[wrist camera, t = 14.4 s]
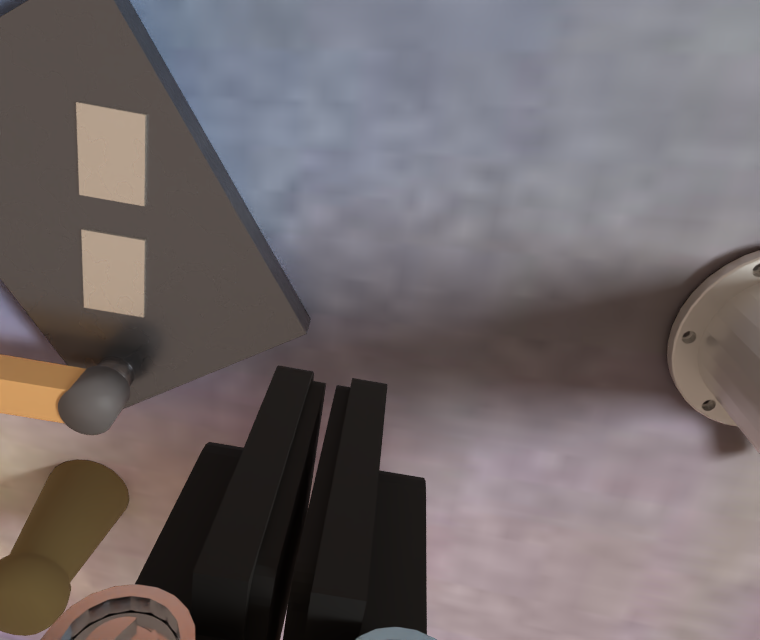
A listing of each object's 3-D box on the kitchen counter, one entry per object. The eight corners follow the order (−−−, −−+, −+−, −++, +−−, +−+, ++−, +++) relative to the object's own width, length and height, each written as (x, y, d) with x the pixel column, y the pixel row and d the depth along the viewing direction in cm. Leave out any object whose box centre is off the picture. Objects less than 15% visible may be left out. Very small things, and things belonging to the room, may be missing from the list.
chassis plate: (310, 319, 41) (303, 345, 38) (118, 398, 45) (97, 429, 41) (108, -36, 33) (78, -40, 30) (-112, 94, 36) (-161, 104, 33)
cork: (31, 473, 48) (-65, 597, 38) (99, 449, 47) (19, 570, 37) (78, 530, 50) (0, 660, 40) (144, 509, 49) (80, 637, 39)
